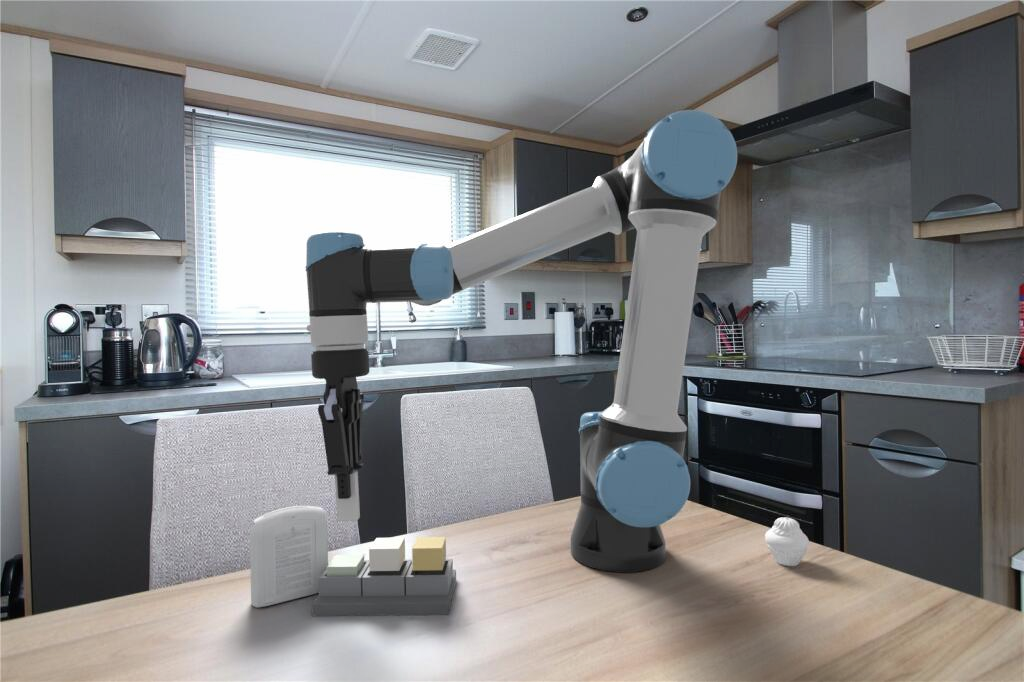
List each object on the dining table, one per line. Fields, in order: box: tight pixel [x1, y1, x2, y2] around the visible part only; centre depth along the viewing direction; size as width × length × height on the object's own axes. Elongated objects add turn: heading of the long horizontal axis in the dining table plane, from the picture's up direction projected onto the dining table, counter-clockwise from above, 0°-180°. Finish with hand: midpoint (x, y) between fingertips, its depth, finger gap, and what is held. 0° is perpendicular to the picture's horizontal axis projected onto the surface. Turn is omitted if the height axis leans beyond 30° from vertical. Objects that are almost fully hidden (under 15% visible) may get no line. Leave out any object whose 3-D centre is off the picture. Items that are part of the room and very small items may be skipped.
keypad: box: [311, 558, 457, 617], centre depth 79 cm, size 18×10×4 cm, turn 89°
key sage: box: [327, 554, 365, 576], centre depth 79 cm, size 4×4×3 cm
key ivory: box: [368, 536, 406, 571], centre depth 79 cm, size 4×4×3 cm
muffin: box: [764, 516, 810, 567], centre depth 88 cm, size 6×6×7 cm
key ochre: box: [411, 536, 447, 571], centre depth 79 cm, size 4×4×3 cm
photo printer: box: [249, 505, 329, 608], centre depth 80 cm, size 10×4×12 cm, turn 123°
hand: (348, 518), depth 79 cm, fingers closed
